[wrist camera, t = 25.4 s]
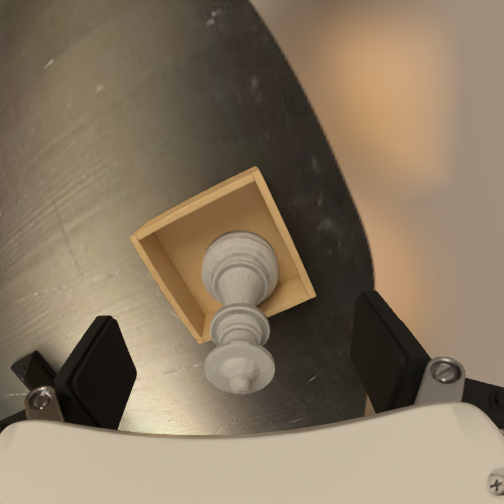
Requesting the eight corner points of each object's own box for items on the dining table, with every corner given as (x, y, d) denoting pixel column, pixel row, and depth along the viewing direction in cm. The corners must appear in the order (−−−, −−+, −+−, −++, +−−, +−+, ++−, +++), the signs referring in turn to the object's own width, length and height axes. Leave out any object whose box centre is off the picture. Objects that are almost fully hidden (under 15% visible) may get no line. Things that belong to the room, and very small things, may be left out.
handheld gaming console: (3, 378, 20) (-12, 425, 12) (32, 333, 23) (21, 368, 15) (81, 433, 25) (96, 486, 17) (111, 394, 28) (133, 441, 20)
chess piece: (278, 229, 17) (321, 333, 8) (275, 296, 18) (301, 427, 9) (201, 229, 17) (157, 333, 7) (205, 296, 18) (179, 427, 9)
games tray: (256, 165, 16) (259, 169, 13) (305, 272, 19) (316, 296, 16) (146, 222, 17) (128, 237, 14) (204, 316, 20) (198, 344, 17)
